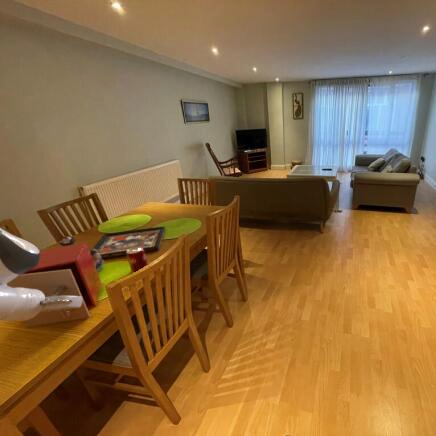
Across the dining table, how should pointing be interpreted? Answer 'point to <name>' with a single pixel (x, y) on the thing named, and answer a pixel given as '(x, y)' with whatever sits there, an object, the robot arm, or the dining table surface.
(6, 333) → the dining table surface
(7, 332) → the dining table surface
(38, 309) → the robot arm
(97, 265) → the bison figurine
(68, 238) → the sundae
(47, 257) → the cabinet
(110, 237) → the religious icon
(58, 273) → the hinged door with handle
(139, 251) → the soda can
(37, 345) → the dining table surface
